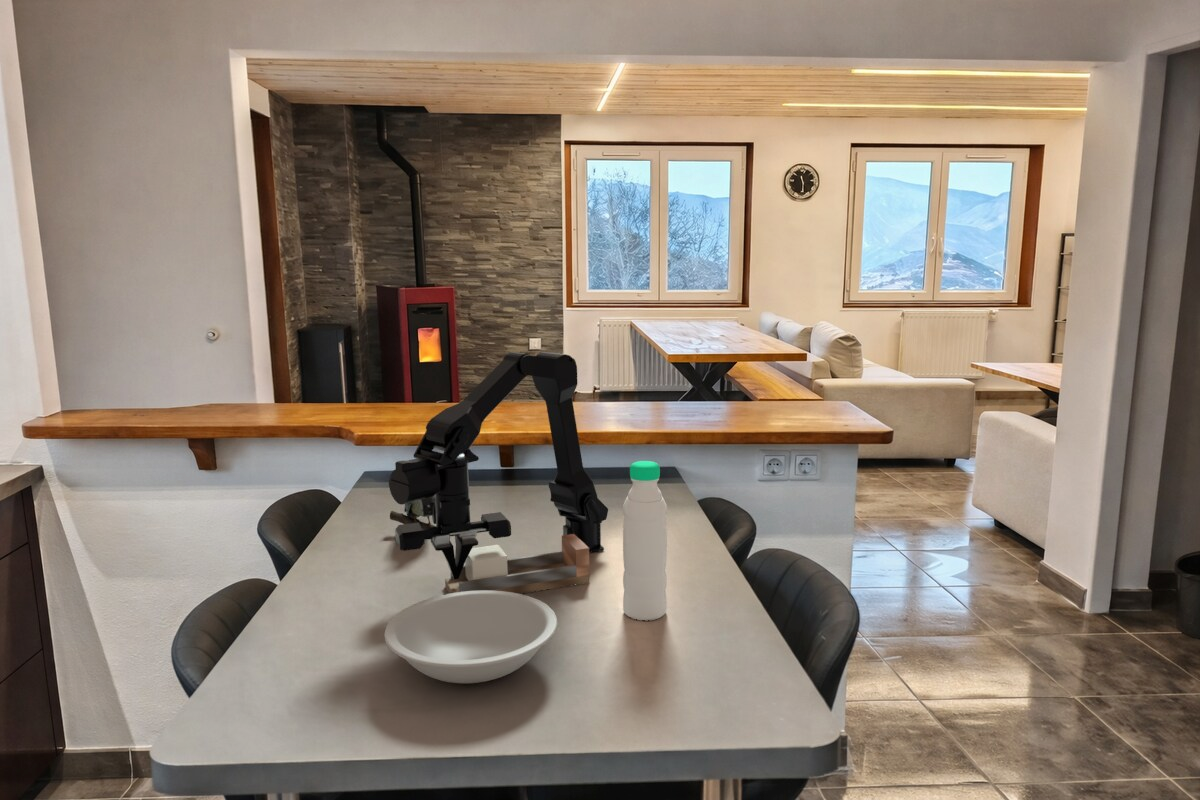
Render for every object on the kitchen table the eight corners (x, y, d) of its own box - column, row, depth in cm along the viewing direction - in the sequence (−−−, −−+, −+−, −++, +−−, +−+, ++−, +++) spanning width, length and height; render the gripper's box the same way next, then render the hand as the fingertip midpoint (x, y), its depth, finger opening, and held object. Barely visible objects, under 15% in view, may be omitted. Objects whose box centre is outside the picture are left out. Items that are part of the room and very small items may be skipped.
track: (574, 567, 158) (574, 533, 157) (589, 583, 151) (589, 548, 150) (445, 586, 150) (443, 551, 149) (454, 604, 143) (453, 567, 141)
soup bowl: (576, 637, 130) (576, 596, 129) (528, 722, 107) (527, 673, 106) (430, 623, 136) (428, 584, 134) (354, 701, 113) (351, 654, 112)
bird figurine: (388, 516, 187) (387, 451, 174) (434, 513, 189) (437, 448, 176) (391, 565, 177) (391, 499, 164) (439, 561, 180) (443, 496, 167)
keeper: (499, 571, 152) (498, 544, 151) (507, 583, 146) (507, 555, 146) (465, 576, 150) (464, 549, 149) (473, 588, 144) (472, 560, 143)
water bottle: (671, 607, 141) (672, 459, 136) (660, 624, 134) (660, 470, 130) (630, 601, 143) (629, 456, 138) (617, 618, 136) (616, 467, 132)
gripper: (494, 472, 154) (497, 555, 157) (388, 484, 147) (393, 570, 150) (510, 489, 144) (513, 576, 147) (397, 502, 137) (403, 593, 140)
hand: (455, 578), depth 146 cm, fingers closed
